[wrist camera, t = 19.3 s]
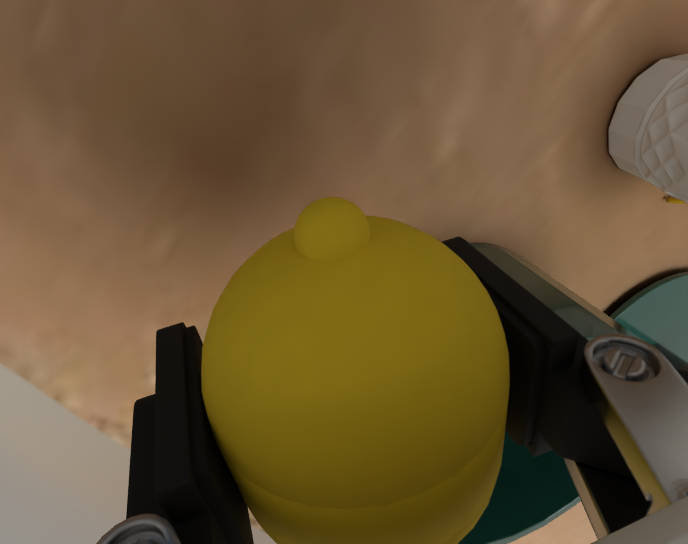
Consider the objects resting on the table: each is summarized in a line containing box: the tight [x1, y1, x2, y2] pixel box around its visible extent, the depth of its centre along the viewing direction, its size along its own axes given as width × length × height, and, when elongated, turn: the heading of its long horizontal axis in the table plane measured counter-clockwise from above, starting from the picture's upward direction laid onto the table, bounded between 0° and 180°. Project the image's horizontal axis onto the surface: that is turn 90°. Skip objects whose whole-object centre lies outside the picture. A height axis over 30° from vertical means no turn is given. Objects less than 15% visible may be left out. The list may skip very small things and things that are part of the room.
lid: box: [610, 271, 688, 371], centre depth 37 cm, size 16×16×7 cm
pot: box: [458, 243, 644, 544], centre depth 26 cm, size 15×15×10 cm
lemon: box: [201, 197, 510, 544], centre depth 9 cm, size 9×6×6 cm, turn 8°
